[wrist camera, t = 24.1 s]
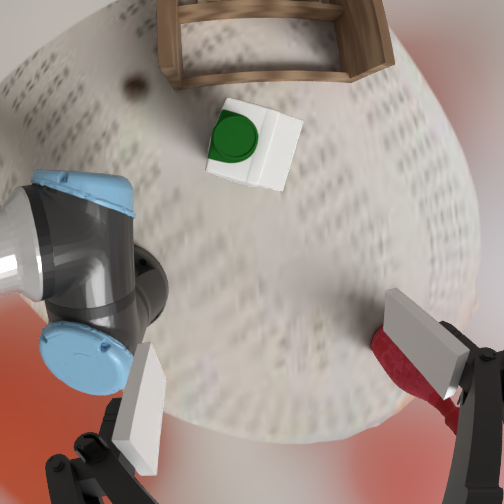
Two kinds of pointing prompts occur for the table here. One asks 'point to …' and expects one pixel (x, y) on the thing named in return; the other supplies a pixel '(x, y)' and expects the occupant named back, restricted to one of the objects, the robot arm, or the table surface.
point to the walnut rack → (277, 6)
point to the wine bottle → (411, 377)
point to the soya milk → (252, 145)
